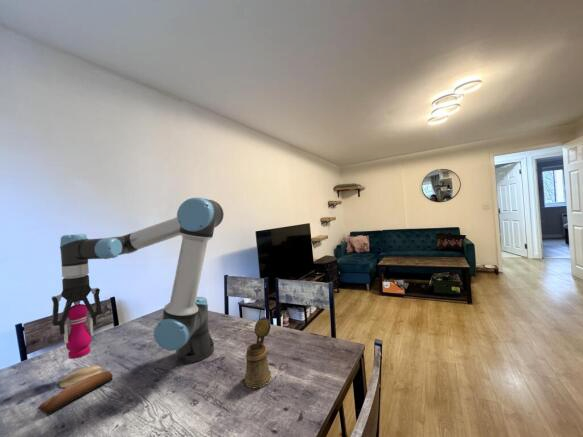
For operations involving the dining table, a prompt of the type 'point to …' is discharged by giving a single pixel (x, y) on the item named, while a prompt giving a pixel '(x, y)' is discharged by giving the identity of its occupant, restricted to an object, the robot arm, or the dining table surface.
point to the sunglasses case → (74, 392)
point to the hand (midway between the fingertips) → (79, 338)
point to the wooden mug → (258, 357)
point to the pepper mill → (78, 332)
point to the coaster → (79, 375)
